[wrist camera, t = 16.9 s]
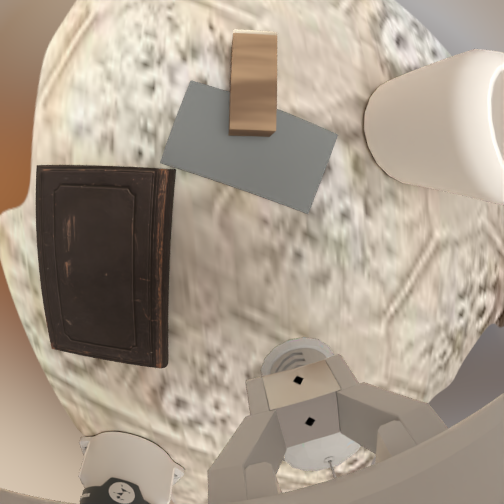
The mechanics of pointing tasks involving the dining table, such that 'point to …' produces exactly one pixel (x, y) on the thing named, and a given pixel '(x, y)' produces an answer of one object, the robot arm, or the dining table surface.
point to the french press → (322, 449)
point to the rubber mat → (248, 150)
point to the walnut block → (253, 83)
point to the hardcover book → (106, 260)
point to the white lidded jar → (443, 126)
